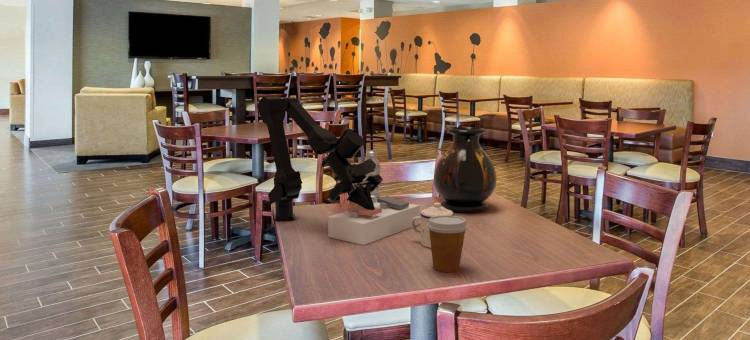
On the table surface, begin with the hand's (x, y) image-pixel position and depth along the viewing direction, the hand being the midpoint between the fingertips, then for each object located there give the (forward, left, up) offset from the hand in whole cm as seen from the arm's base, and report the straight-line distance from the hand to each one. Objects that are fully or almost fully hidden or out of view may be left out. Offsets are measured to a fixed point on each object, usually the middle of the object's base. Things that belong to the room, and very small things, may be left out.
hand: (373, 210), depth 161 cm
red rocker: (-2, -2, -1) cm, 3 cm away
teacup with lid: (+7, +15, -8) cm, 19 cm away
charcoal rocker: (-12, +8, -1) cm, 14 cm away
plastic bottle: (-38, +4, -8) cm, 39 cm away
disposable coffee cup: (+27, +14, -8) cm, 32 cm away
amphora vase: (-33, +36, -8) cm, 50 cm away
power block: (-8, +2, -8) cm, 12 cm away
